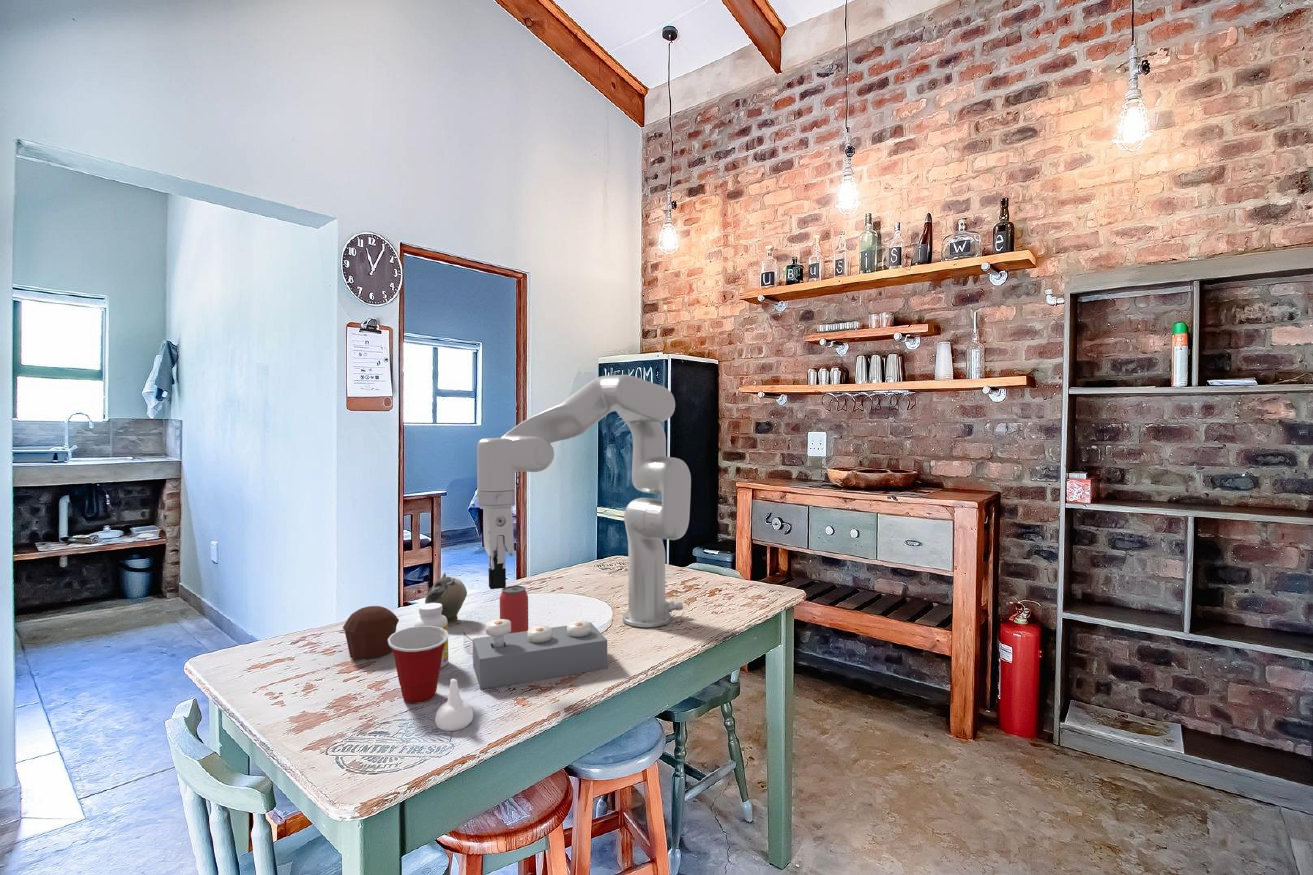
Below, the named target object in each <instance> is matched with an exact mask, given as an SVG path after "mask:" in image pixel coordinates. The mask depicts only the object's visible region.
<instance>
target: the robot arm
mask: <svg viewBox="0 0 1313 875" xmlns="http://www.w3.org/2000/svg"><path fill="white" fill-rule="evenodd" d="M675 408H676V401H675V397H674V394H673V393H672V392H671V391H670V390H669V389H668V388H666V386H662V385H660V384H656V383H654V382H651V381H648V380H645V379H643V378H640V377H637V376H633V375H629V374H615V375H612V374H611V375H602V376H598V377H595V378H594V379H592V380H591V381H589V382H588V383H586V384H585V385H584V386H583V387H581V388H580V389H579V390H577V391H576V392H575V393H573V394H572V395H570V396H569V397H568V398H566V399H565V400H564V401H562V402H561V403H558V404H557V405H555V406H553V407H550V408H548V409H546V410H544V411H542V412H539V413H537V414H535V415H533V416H531V417H529V418H527V419H526V420H523V421H521V422H520V423H519V424H516V425H515V426H514V427H513V428H512V429H510V430H508V431H507V432H506V433H505V434H503V435H502V436H501V437H487V438H485V437H484V438H482V439H480V440H479V441H478V442H477V445H476V459H477V460H476V461H477V462H476V466H477V467H476V469H477V470H476V472H477V473H476V474H477V475H476V476H477V478H476V479H477V480H476V482H477V483H476V484H477V486H476V488H477V492H476V493H477V494H476V495H477V496H476V497H477V507H478V508H482V509H483V510H482V511H483V514H482V515H483V516H482V520H483V521H482V526H483V527H482V529H483V531H482V532H483V547H484V550H485V552H486V553H487V556H488V566H489V568H488V587H489V589H490V590H498V589H500V590H501V589H503V588H505V587H507V578H506V577H507V575H506V574H507V571H506V570H507V569H506V553H507V554H509V555H510V557H511V556H513V555H514V554H515V541H514V540H515V538H514V519H513V518H514V517H513V509H512V508H513V507H515V506H516V473H517V472H527V473H538V472H541V471H545V470H546V469H547V468H549V467H551V465H552V464H553V462H554V458H555V451H554V447H553V446H552V443H556V442H559V441H564V440H569V439H572V438H573V439H574V438H577V437H579V436H582V435H584V434H585V433H586V432H588V430H590V429H591V428H592V427H594V426H595V424H597V423H599V422H600V421H601V420H602V419H603V418H604V417H606V416H607V415H608V414H610V413H612V412H613V413H614V412H616V413H617V415H618V416H619V417H620V418H621V419H622V420H623V422H624V423H625V424H626V425H627V428H629V430H630V432H631V437H632V462H631V464H632V465H631V466H632V467H631V481H632V486H633V487H634V488H635V489H636V490H637V491H639V492H641V493H645V494H646V493H647V494H654V495H661V499H659V498H652V497H638V498H635V499H632V500H631V501H630V502H629V503H628V504H627V505H626V507H625V510H624V516H623V520H624V525H625V532H626V536H627V537H626V538H627V551H628V552H627V553H628V555H627V556H628V560H627V561H628V563H627V564H628V610H627V611H626V612H624V613H623V614H622V621H623V623H625V624H627V625H629V626H631V627H636V628H637V627H638V628H656V627H661V626H664V625H667V624H669V623H670V622H671V621H672V614H671V613H672V612H673V611H681V610H683V609H684V605H683V602H674V601H673V600H672V601H667V600H666V549H665V545H664V542H663V540H669V541H670V540H671V541H676V540H679V539H681V538H682V537H684V535H685V534H686V533H687V530H688V528H689V525H690V524H689V523H690V514H691V510H690V509H691V491H692V490H691V489H692V487H691V486H692V475H691V472H690V469H689V466H688V464H686V462H685V461H684V460H683V459H680V458H677V457H672V456H671V457H670V456H667V438H666V432H665V430H664V428H663V425H662V422H665V421H667V420H668V419H670V418H671V417H672V416H673V415H674V413H675V411H676V410H675ZM662 539H663V540H662Z"/></svg>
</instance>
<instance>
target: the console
mask: <svg viewBox="0 0 1313 875" xmlns="http://www.w3.org/2000/svg"><path fill="white" fill-rule="evenodd" d="M589 623H590V634H589V635H586V636H582V637H572V636H569V635H568V634H567V625H561V626H556V627H555V626H554V627H550V628H551V629H552V638H551V639H550V640H549V641H546V642H541V643H534V642H530V641H528V631H524V632H516V633H509V634H506V635H504V647H501V648H494V649H493V636H490V635H487V636H482V637H474V638H472V667H473V670H474V673H475V677H476V680H477V683H478V686H479V689H480V690H484V689H490V688H497V687H504V686H509V685H515V684H520V683H527V682H532V681H534V682H535V681H538V680H539V681H540V680H545V679H549V678H550V679H551V678H556V677H562V676H567V675H575V674H579V673H580V674H581V673H587V672H591V671H592V672H593V671H598V670H605V669H608V639H607V638H606V637H605V636H604V635H603V634H602V633H601V632H600V630H598V629H597V627H596V626H595V625H594V624H593V623H592V622H589Z"/></svg>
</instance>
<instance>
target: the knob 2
mask: <svg viewBox="0 0 1313 875" xmlns="http://www.w3.org/2000/svg"><path fill="white" fill-rule="evenodd" d="M566 626H567V634H568V635H569V636H572V637H582V636H586V635H589V634H590V622H589V621H587V620H574V621H570V622H568V623H567V624H566Z"/></svg>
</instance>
